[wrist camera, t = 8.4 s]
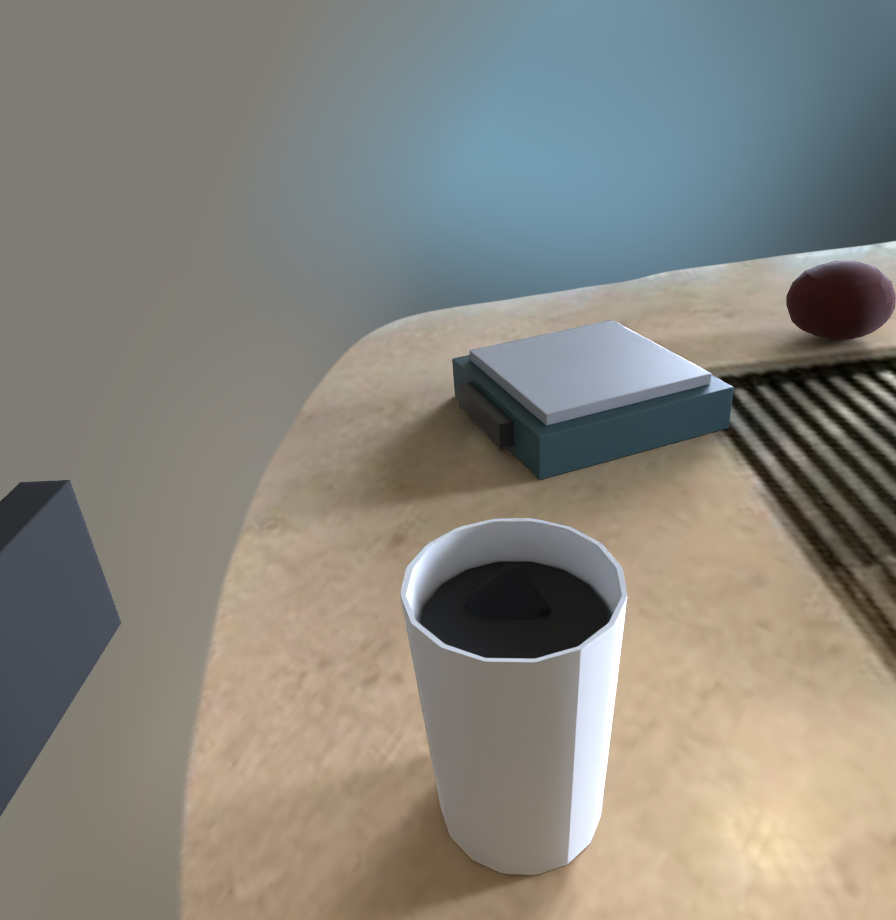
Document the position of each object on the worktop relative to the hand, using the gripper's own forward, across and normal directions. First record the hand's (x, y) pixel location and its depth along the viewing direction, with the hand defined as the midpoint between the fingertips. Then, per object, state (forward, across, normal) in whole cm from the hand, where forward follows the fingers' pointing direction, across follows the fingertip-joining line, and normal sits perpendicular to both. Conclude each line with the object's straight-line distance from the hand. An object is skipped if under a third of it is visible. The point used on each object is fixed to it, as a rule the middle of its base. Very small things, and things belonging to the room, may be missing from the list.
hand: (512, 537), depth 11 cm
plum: (+52, +28, -17) cm, 61 cm away
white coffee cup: (+9, 0, -18) cm, 20 cm away
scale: (+40, +6, -17) cm, 44 cm away
